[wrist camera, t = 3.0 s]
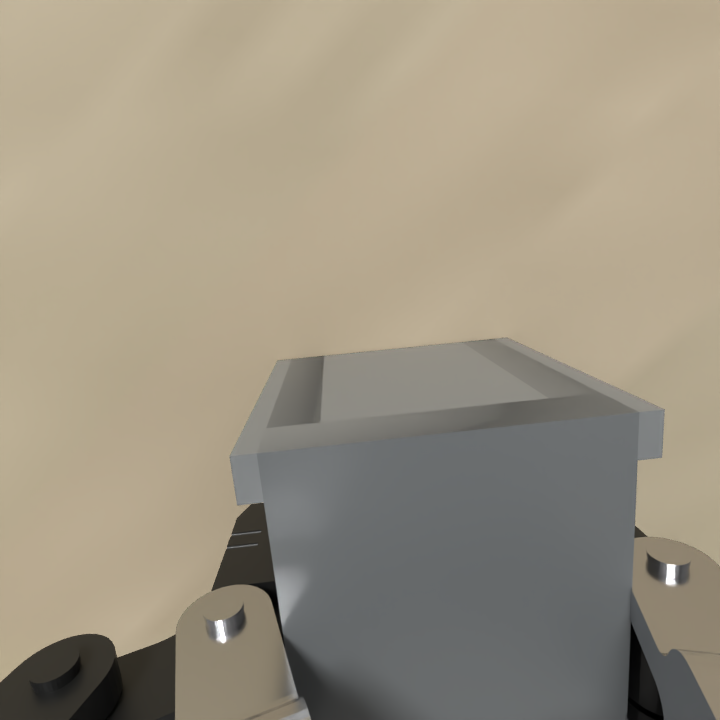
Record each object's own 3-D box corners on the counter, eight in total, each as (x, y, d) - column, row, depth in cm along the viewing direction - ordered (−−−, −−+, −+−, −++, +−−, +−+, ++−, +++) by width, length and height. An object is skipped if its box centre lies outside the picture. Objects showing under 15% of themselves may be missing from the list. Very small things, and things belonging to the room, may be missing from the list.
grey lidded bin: (277, 360, 10) (229, 456, 5) (507, 338, 10) (664, 410, 6) (313, 637, 12) (302, 910, 7) (513, 612, 12) (640, 860, 7)
